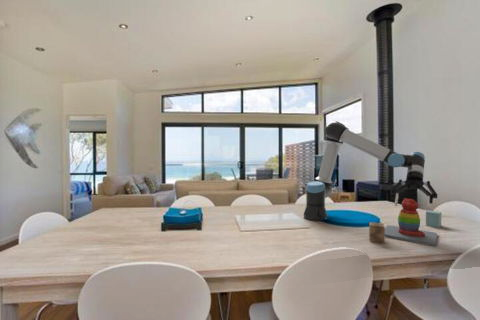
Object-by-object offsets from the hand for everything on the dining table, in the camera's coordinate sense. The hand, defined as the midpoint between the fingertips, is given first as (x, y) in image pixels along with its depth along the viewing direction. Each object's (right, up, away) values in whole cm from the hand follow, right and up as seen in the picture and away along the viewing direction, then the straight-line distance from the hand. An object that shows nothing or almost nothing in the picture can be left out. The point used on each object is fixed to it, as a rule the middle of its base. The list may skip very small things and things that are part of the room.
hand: (411, 206), depth 125 cm
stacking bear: (-1, -14, 0) cm, 14 cm away
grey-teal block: (+25, -15, +18) cm, 34 cm away
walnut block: (-22, -15, -8) cm, 28 cm away
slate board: (-2, -15, 0) cm, 15 cm away
